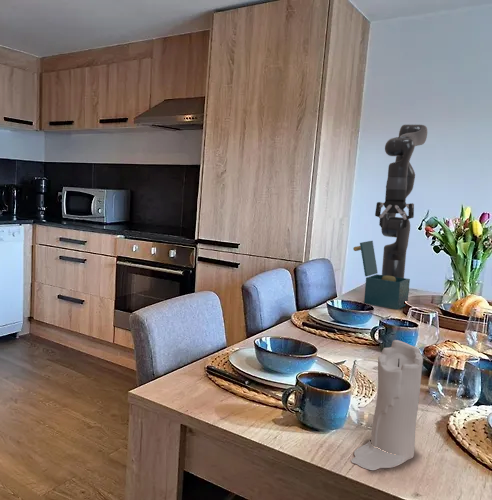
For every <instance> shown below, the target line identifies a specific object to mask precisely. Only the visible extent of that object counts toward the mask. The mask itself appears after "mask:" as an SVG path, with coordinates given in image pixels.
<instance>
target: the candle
mask: <svg viewBox="0 0 492 500" xmlns="http://www.w3.org/2000/svg"><path fill="white" fill-rule="evenodd" d="M423 364H424V357H423V355H422V354H421V350H420V348H419V347H418V346H415V345H411V344H409V343H407V342H404V341H402V340H398V339H394V340H392V342H391V346H389V347H383V349H382V350H381V353H380V354H379V356H378V357H377V392H376V393H377V394H376V402H375V408H374V413H373V418H372V424H371V433H370V438H369V441H368V442H366V443H365V444H363V445H361V446H359V447H357V449H355V450H354V452H353V455H354V457H353V458H351V459H350V461H351V464H355V465H357V466H359V467H361V468H363V469H366V470H369V471H376V470H379V469H392V468H395V467H398V466H401V465H402V464H404V463H405V462H407V461H409V460H411V459H413V457H414V456H415V448H416V431H417V429H416V428H417V418H418V410H419V402H420V393H421V386H422V385H421V384H422V372H423ZM370 440H371V442H372V444H371V442H370ZM372 445H373V446H375V447H378V448H380V449H381V450H380V449H378V448H374V447H373V446H372ZM382 450H384V451H386V452H384V451H382ZM387 452H388V453H387ZM390 453H392V454H390ZM394 454H396V455H394Z"/></svg>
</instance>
